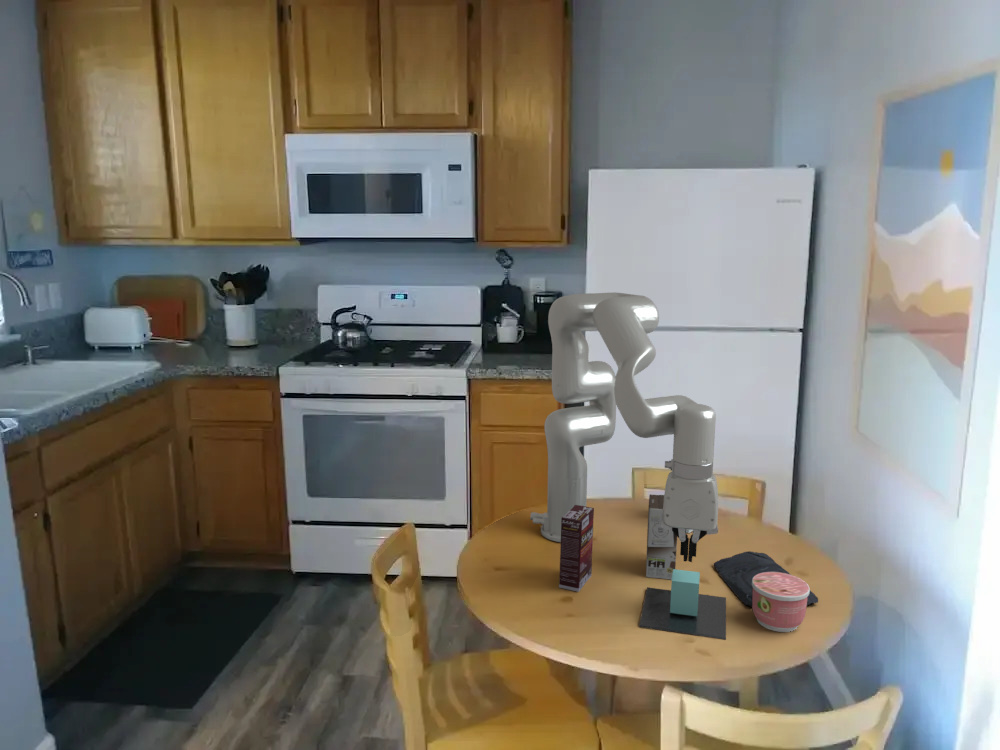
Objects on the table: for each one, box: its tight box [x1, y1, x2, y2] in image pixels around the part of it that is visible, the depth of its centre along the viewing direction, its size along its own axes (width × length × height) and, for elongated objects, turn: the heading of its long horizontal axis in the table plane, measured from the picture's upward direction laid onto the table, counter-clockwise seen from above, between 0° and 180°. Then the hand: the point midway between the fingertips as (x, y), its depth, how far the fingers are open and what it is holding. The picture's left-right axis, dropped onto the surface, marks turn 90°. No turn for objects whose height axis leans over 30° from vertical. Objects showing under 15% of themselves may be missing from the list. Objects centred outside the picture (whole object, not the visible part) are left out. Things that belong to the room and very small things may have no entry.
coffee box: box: [645, 494, 678, 581], centre depth 173 cm, size 9×6×16 cm
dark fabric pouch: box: [713, 551, 819, 607], centre depth 167 cm, size 15×22×5 cm
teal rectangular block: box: [670, 568, 701, 616], centre depth 155 cm, size 5×5×7 cm
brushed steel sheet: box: [638, 586, 727, 640], centre depth 155 cm, size 16×16×7 cm
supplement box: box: [558, 505, 595, 593], centre depth 167 cm, size 9×5×16 cm, turn 155°
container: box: [752, 572, 811, 633], centre depth 152 cm, size 10×10×8 cm
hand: (687, 558), depth 153 cm, fingers closed
